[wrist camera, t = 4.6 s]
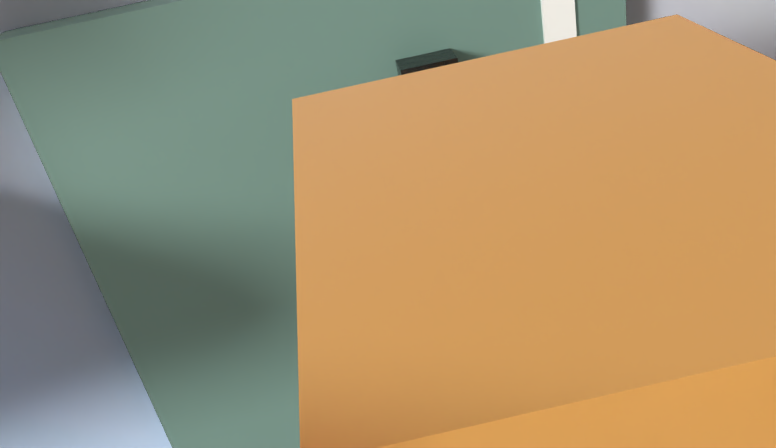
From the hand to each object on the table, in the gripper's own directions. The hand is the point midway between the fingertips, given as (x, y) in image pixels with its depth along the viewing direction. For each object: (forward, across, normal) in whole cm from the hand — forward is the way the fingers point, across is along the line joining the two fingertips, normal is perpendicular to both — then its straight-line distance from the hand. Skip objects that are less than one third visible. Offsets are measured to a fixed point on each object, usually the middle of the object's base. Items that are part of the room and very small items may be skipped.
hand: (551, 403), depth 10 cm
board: (+9, +2, +5) cm, 10 cm away
